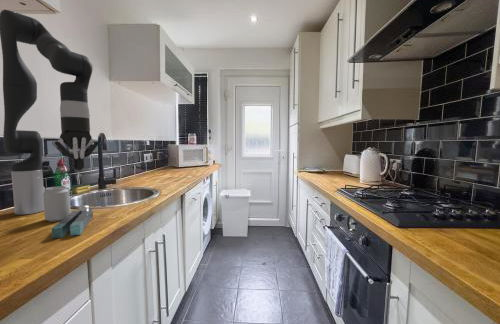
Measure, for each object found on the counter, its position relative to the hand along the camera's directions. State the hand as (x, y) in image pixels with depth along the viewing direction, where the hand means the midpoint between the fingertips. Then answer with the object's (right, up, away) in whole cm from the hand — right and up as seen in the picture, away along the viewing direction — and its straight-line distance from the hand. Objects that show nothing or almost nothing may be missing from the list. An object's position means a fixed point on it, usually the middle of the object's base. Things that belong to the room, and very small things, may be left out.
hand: (78, 170), depth 78 cm
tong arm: (0, -19, +3) cm, 19 cm away
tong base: (-4, -19, +3) cm, 20 cm away
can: (-15, -19, +10) cm, 26 cm away
